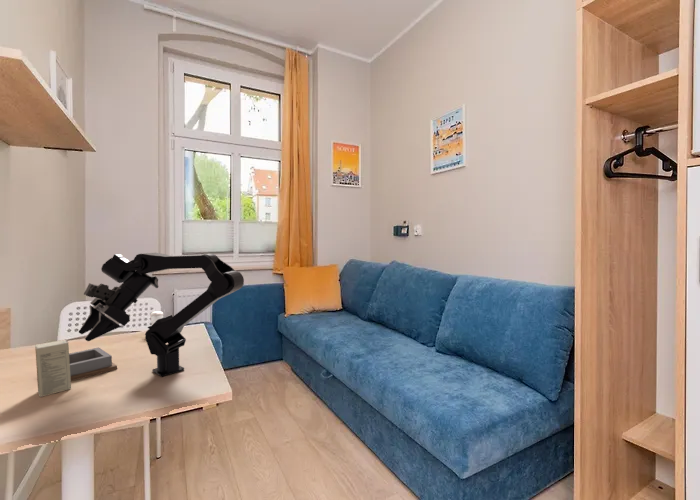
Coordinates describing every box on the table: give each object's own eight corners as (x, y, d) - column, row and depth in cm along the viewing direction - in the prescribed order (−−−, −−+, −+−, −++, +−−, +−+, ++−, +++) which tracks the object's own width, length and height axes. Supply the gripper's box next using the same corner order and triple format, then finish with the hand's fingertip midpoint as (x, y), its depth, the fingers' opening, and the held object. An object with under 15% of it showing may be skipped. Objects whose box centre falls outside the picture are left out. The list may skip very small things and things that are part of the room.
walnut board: (117, 369, 101) (117, 365, 101) (55, 384, 90) (55, 381, 90) (101, 358, 110) (101, 355, 110) (44, 371, 99) (43, 368, 99)
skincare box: (68, 384, 91) (67, 338, 90) (71, 389, 88) (70, 342, 87) (36, 392, 86) (34, 344, 85) (37, 397, 83) (35, 348, 82)
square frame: (111, 365, 101) (111, 355, 101) (59, 379, 91) (58, 367, 91) (99, 356, 108) (98, 347, 108) (49, 367, 99) (48, 357, 99)
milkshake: (163, 335, 135) (163, 310, 135) (148, 335, 134) (148, 310, 134) (167, 332, 140) (167, 307, 139) (153, 332, 139) (153, 308, 138)
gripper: (98, 270, 101) (49, 313, 93) (114, 275, 88) (59, 325, 80) (130, 293, 107) (86, 336, 99) (149, 301, 94) (101, 351, 86)
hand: (83, 336), depth 91 cm, fingers open, 9 cm apart
